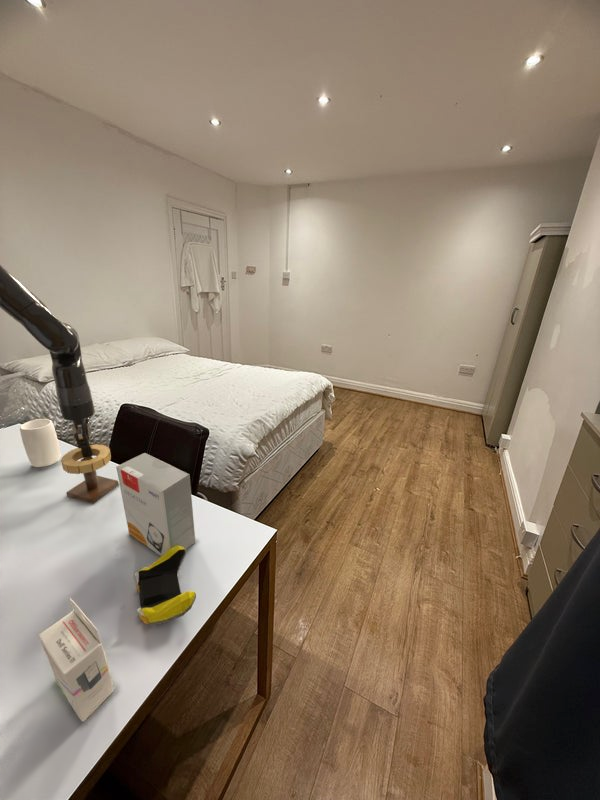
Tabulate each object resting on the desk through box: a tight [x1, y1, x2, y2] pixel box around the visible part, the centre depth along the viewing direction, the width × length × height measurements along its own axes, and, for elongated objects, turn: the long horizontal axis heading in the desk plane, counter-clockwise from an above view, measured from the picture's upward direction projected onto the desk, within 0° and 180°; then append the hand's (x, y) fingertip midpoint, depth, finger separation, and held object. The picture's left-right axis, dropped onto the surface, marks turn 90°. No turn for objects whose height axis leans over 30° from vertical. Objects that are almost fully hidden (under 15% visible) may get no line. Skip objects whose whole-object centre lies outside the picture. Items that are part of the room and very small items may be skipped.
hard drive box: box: [115, 452, 196, 557], centre depth 74 cm, size 16×8×20 cm, turn 60°
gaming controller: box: [134, 545, 197, 626], centre depth 64 cm, size 15×6×10 cm
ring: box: [60, 443, 112, 475], centre depth 89 cm, size 12×12×2 cm
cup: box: [19, 418, 62, 468], centre depth 101 cm, size 8×8×14 cm
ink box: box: [38, 597, 115, 722], centre depth 47 cm, size 9×5×15 cm, turn 56°
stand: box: [65, 456, 120, 504], centre depth 91 cm, size 9×9×10 cm
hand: (88, 454), depth 93 cm, fingers closed on ring, 2 cm apart
